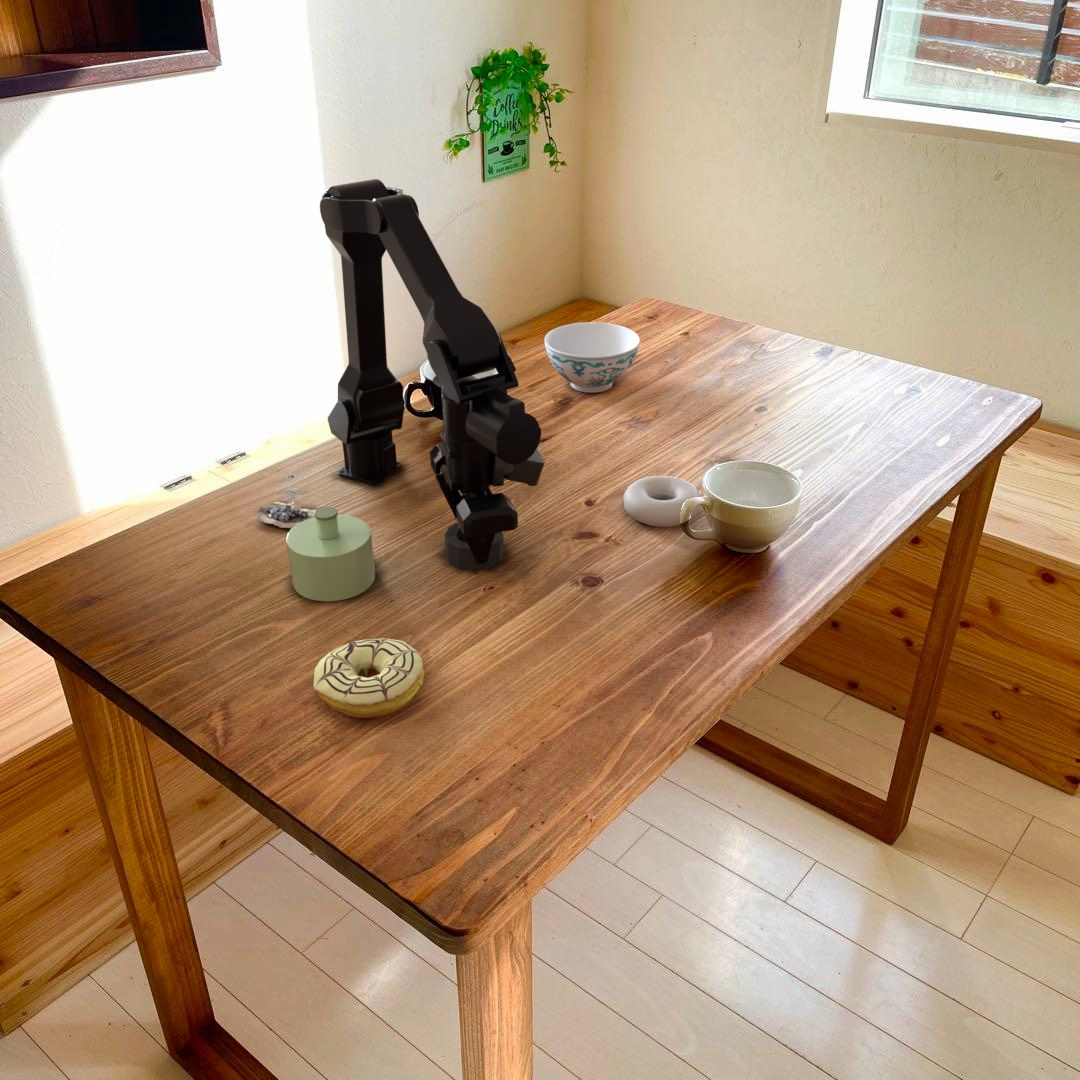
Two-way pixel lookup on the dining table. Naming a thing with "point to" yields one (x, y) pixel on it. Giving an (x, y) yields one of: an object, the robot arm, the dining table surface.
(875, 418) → the dining table surface
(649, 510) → the donut
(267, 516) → the blueberry tart
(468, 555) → the rubber ring
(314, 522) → the green cylinder with peg
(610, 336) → the chinaware
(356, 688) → the decorated donut
